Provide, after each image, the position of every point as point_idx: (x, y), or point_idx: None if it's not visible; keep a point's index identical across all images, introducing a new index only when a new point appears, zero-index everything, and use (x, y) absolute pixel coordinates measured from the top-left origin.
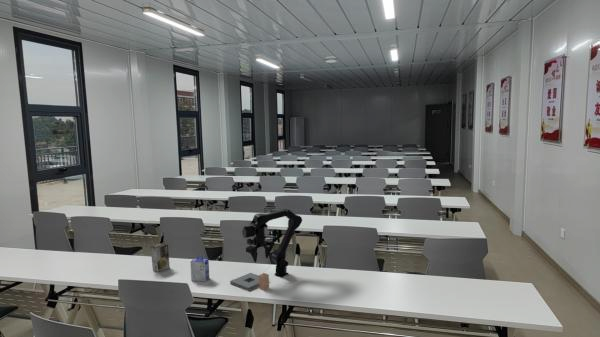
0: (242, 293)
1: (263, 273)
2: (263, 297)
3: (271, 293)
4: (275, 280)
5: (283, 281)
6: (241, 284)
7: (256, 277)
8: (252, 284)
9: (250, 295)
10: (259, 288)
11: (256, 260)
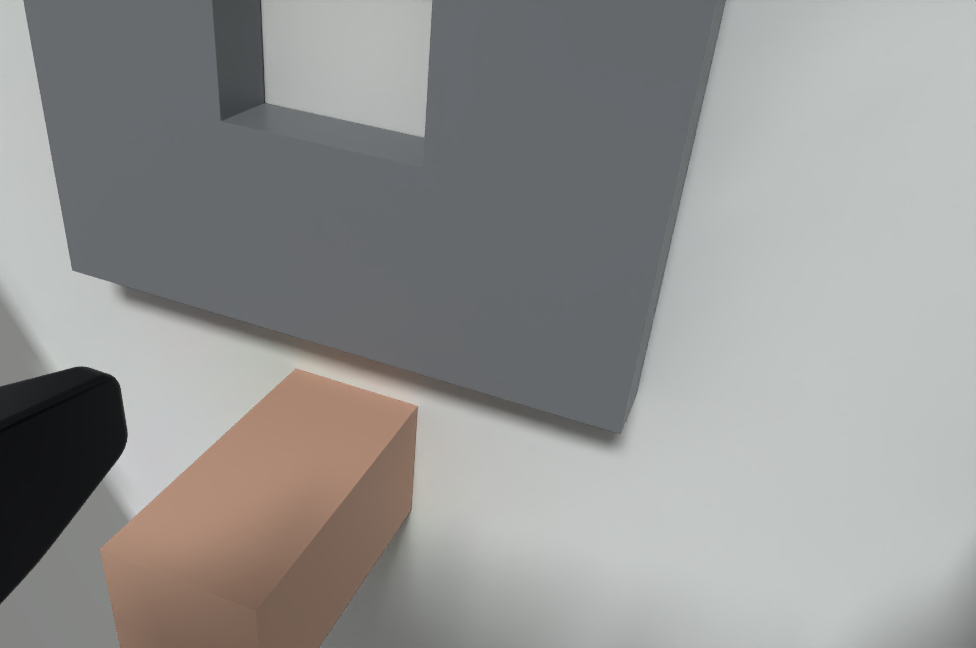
0: (9, 211)
1: (233, 611)
2: None
3: None
4: (783, 491)
5: (805, 645)
6: (51, 34)
7: (544, 94)
8: (208, 257)
9: (65, 364)
10: (292, 377)
11: (36, 553)
